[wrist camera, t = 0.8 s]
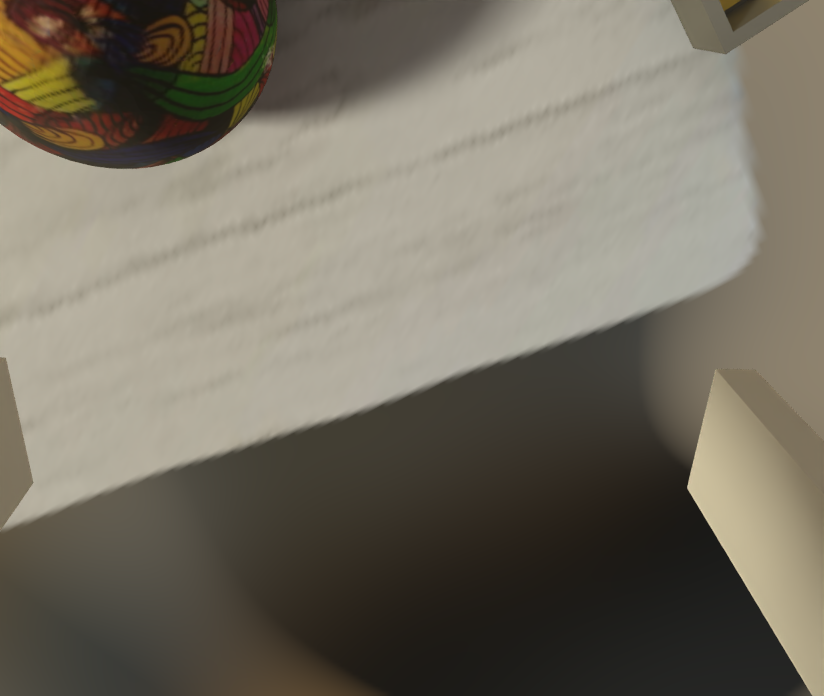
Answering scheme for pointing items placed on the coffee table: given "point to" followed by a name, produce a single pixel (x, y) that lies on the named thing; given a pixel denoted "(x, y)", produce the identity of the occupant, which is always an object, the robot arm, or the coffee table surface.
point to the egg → (131, 75)
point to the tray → (729, 20)
